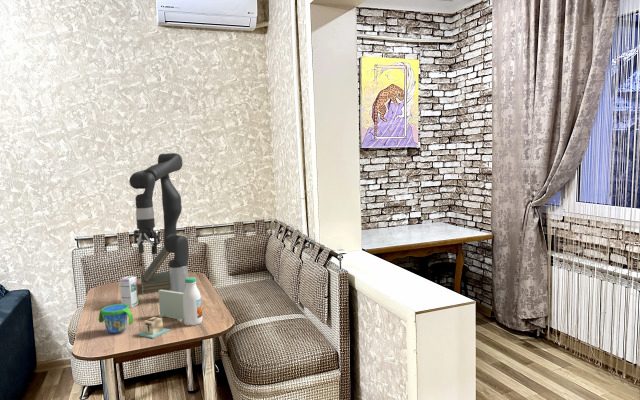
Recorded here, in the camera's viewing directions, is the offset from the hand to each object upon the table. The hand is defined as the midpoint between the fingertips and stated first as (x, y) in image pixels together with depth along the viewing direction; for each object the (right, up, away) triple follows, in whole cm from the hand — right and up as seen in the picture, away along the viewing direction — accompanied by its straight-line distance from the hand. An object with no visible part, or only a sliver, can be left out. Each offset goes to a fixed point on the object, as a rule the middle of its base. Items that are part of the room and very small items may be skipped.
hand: (147, 253), depth 202 cm
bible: (-15, -27, +57) cm, 65 cm away
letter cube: (+8, -31, -15) cm, 35 cm away
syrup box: (-18, -29, +24) cm, 42 cm away
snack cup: (-9, -32, -11) cm, 35 cm away
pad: (+8, -31, -15) cm, 36 cm away
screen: (+11, -30, +3) cm, 32 cm away
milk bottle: (+22, -30, -5) cm, 37 cm away
